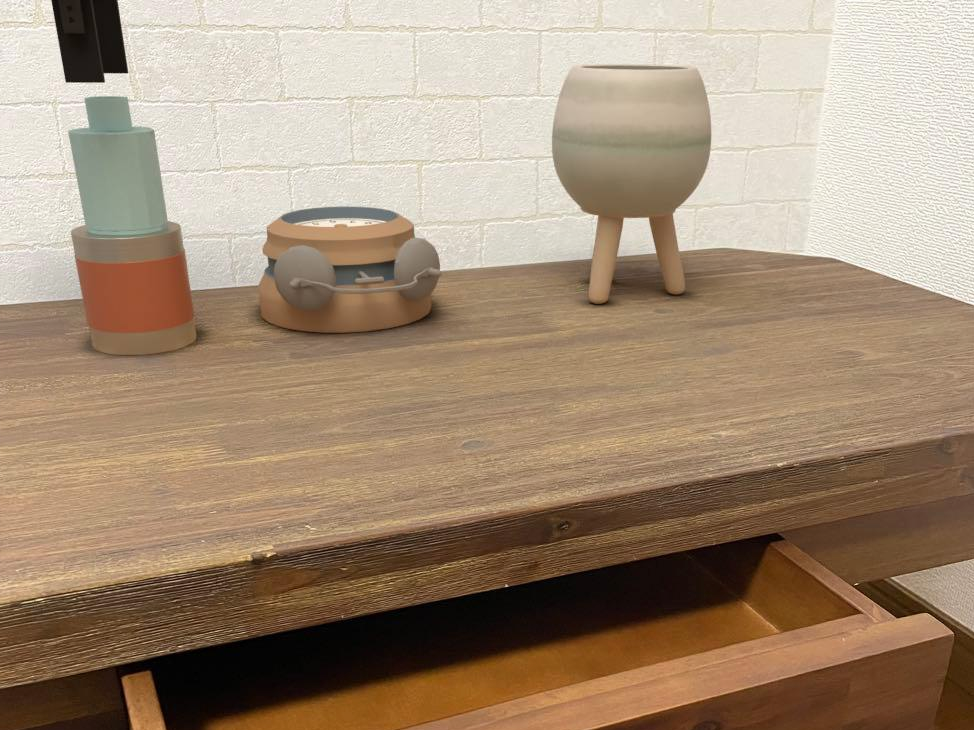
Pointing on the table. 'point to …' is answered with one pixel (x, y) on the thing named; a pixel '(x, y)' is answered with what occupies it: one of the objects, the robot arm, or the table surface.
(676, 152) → the planter
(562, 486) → the table surface
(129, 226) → the bottle
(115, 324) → the tin can
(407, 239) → the alarm clock
